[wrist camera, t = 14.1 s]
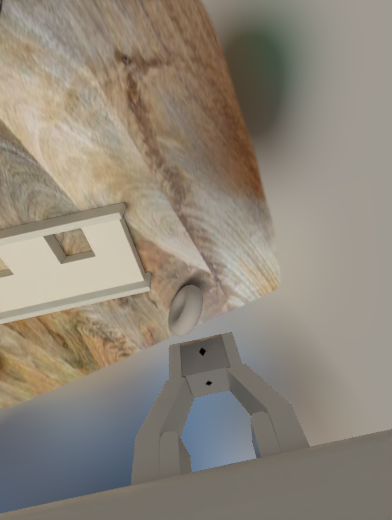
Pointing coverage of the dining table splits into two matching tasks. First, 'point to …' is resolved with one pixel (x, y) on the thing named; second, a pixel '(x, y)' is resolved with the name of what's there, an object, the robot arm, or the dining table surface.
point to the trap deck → (68, 264)
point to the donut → (185, 310)
